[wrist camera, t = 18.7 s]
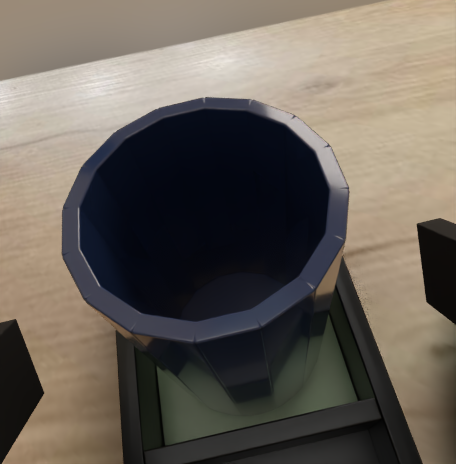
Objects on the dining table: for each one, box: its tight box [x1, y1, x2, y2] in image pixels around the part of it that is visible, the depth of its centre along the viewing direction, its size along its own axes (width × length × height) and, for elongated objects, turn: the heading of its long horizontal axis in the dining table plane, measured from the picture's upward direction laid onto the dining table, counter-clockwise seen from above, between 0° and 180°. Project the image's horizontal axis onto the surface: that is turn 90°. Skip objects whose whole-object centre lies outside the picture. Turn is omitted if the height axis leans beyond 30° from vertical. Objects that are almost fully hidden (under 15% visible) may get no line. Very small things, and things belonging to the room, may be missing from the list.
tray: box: [116, 256, 423, 464], centre depth 18 cm, size 11×20×4 cm, turn 11°
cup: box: [62, 97, 349, 416], centre depth 16 cm, size 7×7×12 cm
